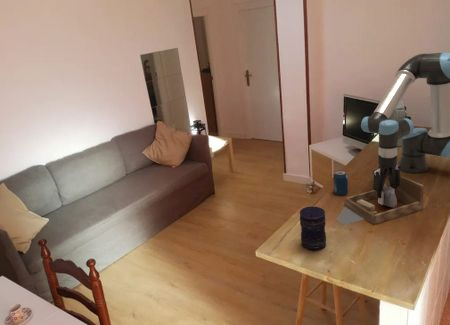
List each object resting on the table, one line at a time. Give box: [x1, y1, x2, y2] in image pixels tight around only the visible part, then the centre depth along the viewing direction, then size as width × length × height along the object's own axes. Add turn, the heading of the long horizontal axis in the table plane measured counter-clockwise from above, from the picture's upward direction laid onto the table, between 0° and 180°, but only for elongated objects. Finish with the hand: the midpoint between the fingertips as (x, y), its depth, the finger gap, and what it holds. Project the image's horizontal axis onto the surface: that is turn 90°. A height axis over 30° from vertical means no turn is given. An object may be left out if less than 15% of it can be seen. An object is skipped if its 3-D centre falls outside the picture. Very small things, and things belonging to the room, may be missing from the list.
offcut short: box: [356, 199, 376, 212], centre depth 156 cm, size 3×8×2 cm, turn 23°
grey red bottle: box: [389, 99, 406, 147], centre depth 234 cm, size 19×6×30 cm, turn 168°
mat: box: [336, 205, 366, 226], centre depth 158 cm, size 11×16×1 cm
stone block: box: [376, 183, 398, 209], centre depth 159 cm, size 12×5×10 cm, turn 6°
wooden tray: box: [343, 175, 425, 226], centre depth 158 cm, size 26×20×12 cm
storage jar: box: [299, 206, 327, 252], centre depth 137 cm, size 10×10×15 cm
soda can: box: [332, 169, 349, 197], centre depth 176 cm, size 7×7×12 cm
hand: (386, 202), depth 160 cm, fingers closed on stone block, 5 cm apart
